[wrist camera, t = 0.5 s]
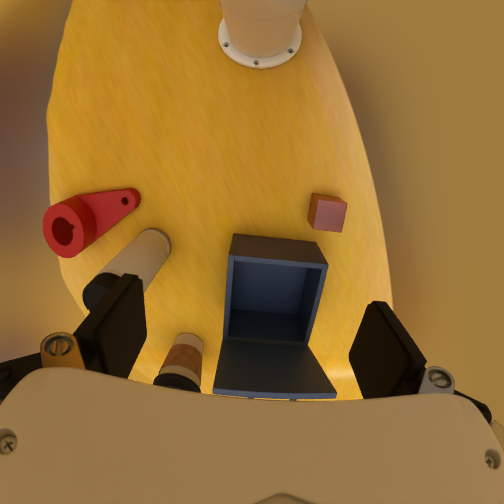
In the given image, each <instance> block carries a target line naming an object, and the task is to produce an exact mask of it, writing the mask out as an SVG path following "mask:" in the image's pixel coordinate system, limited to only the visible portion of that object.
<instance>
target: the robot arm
mask: <svg viewBox="0 0 504 504" xmlns="http://www.w3.org/2000/svg"><path fill="white" fill-rule="evenodd" d="M219 2H220V5H221V9H222V13H223V17H224V18H223V19H222V21H221V23H220V26H219V29H218V38H219V43H220V46H221V48H222V49H223V51H224V53H225V54H226V55H227V56H228V57H229V58H230V59H232V60H233V61H234V62H236V63H238V64H240V65H242V66H246V67H249V68H255V69H267V68H273V67H276V66H279V65H282V64H284V63H285V62H287V61H289V60H290V59H291V58H292V57H293V56H294V55H295V54H296V52H297V51H298V49H299V47H300V45H301V42H302V29H301V26H300V24H299V19H300V17H301V14H302V12H303V9H304V7H305V5H306V2H307V0H219ZM226 45H228V47H225V46H226ZM289 51H290V52H292V53H289ZM255 63H258V65H255ZM146 337H147V328H146V318H145V306H144V292H143V281H142V279H139V276H138V275H135V274H129V273H124V274H123V275H122V276H121V277H120V278H119V279H118V281H117V282H116V283H115V284H114V285H113V286H112V287H111V289H110V290H109V291H108V292H107V293H106V294H105V296H104V297H103V298H102V299H101V300H100V301H99V303H98V304H97V305H96V306H95V307H94V309H93V310H92V311H91V312H90V313H89V315H88V316H87V317H86V318H85V320H84V321H83V322H82V323H81V325H80V326H79V327H78V328H77V330H76V331H75V332H74V333H73V335H72V334H69V333H66V332H56V333H53V334H50V335H49V336H47V337H46V338H45V339H44V340H43V341H42V343H41V345H40V352H39V353H36V354H32V355H28V356H25V357H21V358H17V359H13V360H9V361H5V362H2V363H0V504H504V427H503V426H502V425H501V424H499V423H498V422H497V421H496V420H494V421H493V422H491V420H492V415H491V412H490V410H489V408H488V407H487V406H486V405H485V404H483V403H481V402H479V401H477V400H475V399H473V398H470V397H468V396H466V395H464V394H462V393H460V392H458V391H456V390H454V387H455V380H454V378H453V376H452V375H451V374H450V373H449V372H448V371H447V370H445V369H443V368H441V367H438V366H432V367H429V368H427V369H426V368H425V366H424V365H425V364H426V362H427V360H426V359H425V357H424V356H423V354H422V353H421V351H420V350H419V348H418V347H417V345H416V344H415V342H414V341H413V339H412V338H411V337H410V335H409V334H408V332H407V331H406V329H405V328H404V326H403V325H402V324H401V322H400V321H399V319H398V318H397V316H396V315H395V314H394V312H393V311H392V310H391V308H390V307H389V305H388V304H387V303H386V302H383V301H373V302H372V303H371V304H368V306H367V308H366V310H365V313H364V316H363V319H362V321H361V324H360V327H359V329H358V332H357V334H356V337H355V339H354V342H353V344H352V347H351V349H350V352H349V361H350V364H351V366H352V369H353V372H354V374H355V377H356V380H357V382H358V385H359V388H360V390H361V393H362V396H363V399H359V400H338V401H287V400H265V399H251V398H239V397H229V396H220V395H211V394H204V393H197V392H190V391H184V390H178V389H172V388H167V387H161V386H156V385H151V384H146V383H142V382H138V381H133V380H129V379H128V376H129V374H130V372H131V369H132V367H133V366H134V363H135V361H136V359H137V357H138V355H139V353H140V351H141V349H142V347H143V344H144V342H145V340H146Z"/></svg>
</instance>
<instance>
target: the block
mask: <svg viewBox="0 0 504 504" xmlns="http://www.w3.org/2000/svg"><path fill="white" fill-rule="evenodd" d="M346 208H347V203H346V202H344V201H343V200H342V199H340V198H339V197H333V196H327V195H320V194H313V193H312V197H311V203H310V209H309V215H308V222H309V223H310V225H311V226H312V228H313V229H317V230H325V231H333V232H342V228H343V224H344V219H345V213H346Z"/></svg>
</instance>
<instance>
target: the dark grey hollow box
mask: <svg viewBox="0 0 504 504" xmlns="http://www.w3.org/2000/svg"><path fill="white" fill-rule="evenodd" d="M327 269H328V263H327V261H326V259H325V257H324V256H323V254H322V252H321V250H320V249H319V247H318V245H317V243H316V242H309V241H300V240H290V239H281V238H272V237H262V236H252V235H243V234H233V237H232V242H231V246H230V251H229V257H228V270H227V283H226V297H225V311H224V326H223V340H230V341H240V342H252V343H264V344H280V345H299V346H308V342H309V339H310V335H311V332H312V328H313V324H314V321H315V317H316V313H317V310H318V306H319V302H320V298H321V294H322V290H323V286H324V282H325V278H326V274H327Z"/></svg>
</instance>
